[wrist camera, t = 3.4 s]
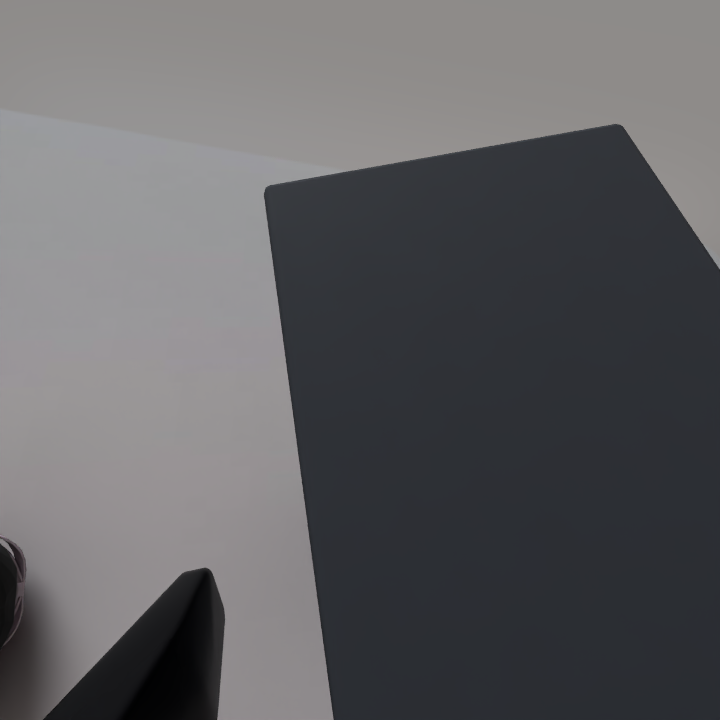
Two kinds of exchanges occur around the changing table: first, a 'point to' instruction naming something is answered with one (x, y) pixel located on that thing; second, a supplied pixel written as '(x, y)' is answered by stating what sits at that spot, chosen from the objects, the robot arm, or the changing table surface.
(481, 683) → the dark grey rectangular block
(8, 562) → the toy figure
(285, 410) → the changing table surface
